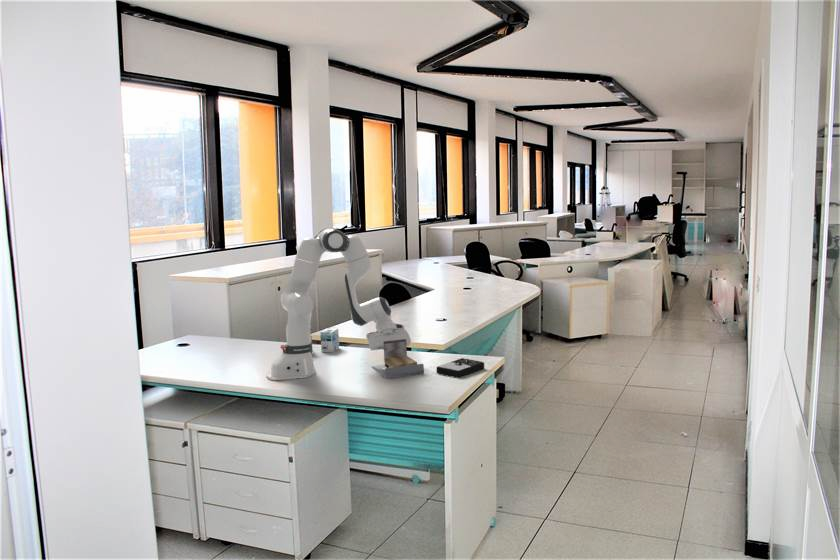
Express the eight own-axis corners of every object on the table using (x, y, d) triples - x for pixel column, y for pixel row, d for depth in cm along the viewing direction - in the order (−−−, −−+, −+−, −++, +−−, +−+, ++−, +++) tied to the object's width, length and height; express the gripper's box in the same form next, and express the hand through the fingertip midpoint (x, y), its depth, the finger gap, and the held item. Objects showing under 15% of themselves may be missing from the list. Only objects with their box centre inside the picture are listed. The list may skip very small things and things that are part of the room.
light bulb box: (333, 352, 358) (332, 332, 356) (320, 352, 359) (319, 332, 358) (339, 347, 368) (338, 328, 367) (327, 347, 370) (326, 327, 368)
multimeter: (484, 369, 316) (484, 359, 316) (458, 379, 302) (458, 368, 302) (462, 365, 325) (462, 355, 324) (436, 374, 311) (435, 363, 310)
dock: (386, 380, 305) (385, 368, 304) (370, 368, 327) (370, 357, 326) (423, 375, 311) (423, 364, 311) (406, 364, 333) (405, 353, 332)
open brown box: (394, 374, 307) (393, 347, 306) (384, 367, 320) (383, 341, 319) (417, 371, 311) (416, 344, 310) (406, 364, 324) (405, 338, 323)
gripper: (366, 329, 323) (373, 353, 316) (407, 324, 331) (415, 348, 323) (364, 336, 328) (371, 361, 321) (404, 331, 336) (412, 355, 328)
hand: (393, 354), depth 322 cm, fingers closed, pressing on open brown box
